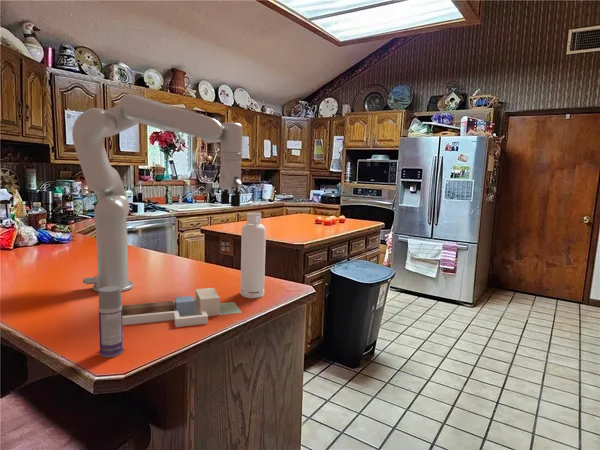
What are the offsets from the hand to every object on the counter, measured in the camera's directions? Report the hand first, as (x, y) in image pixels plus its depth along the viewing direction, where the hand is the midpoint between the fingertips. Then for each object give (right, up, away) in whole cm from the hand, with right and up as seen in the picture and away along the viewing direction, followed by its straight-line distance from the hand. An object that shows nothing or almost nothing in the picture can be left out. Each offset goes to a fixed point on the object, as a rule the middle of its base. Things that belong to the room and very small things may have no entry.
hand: (230, 205), depth 143 cm
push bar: (-17, -33, -33) cm, 50 cm away
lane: (-8, -34, -32) cm, 47 cm away
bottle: (+9, -31, -9) cm, 34 cm away
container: (-17, -37, -55) cm, 68 cm away
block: (-8, -33, -29) cm, 45 cm away
